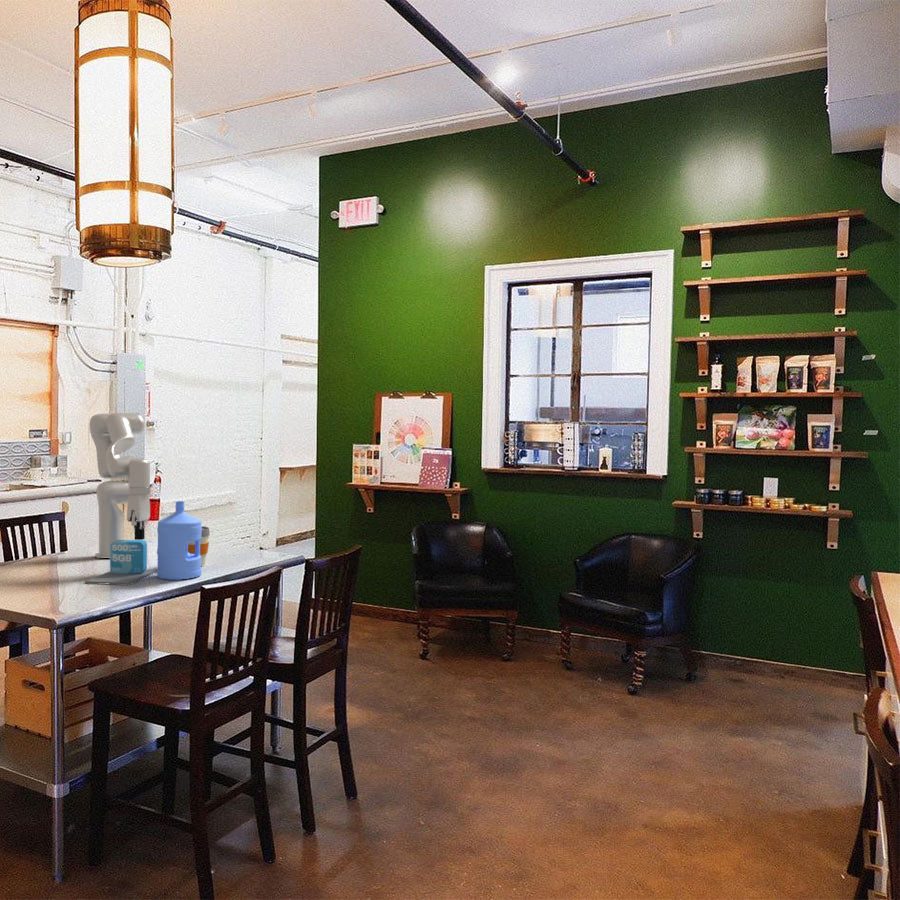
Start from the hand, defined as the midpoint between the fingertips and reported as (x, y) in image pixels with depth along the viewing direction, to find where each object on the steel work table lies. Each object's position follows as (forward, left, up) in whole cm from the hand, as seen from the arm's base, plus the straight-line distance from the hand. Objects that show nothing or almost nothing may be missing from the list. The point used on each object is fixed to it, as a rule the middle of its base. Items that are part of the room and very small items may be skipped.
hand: (139, 539), depth 293 cm
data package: (+7, -1, -12) cm, 14 cm away
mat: (+13, 0, -12) cm, 17 cm away
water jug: (+7, +19, -12) cm, 23 cm away
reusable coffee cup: (-13, +16, -12) cm, 24 cm away
